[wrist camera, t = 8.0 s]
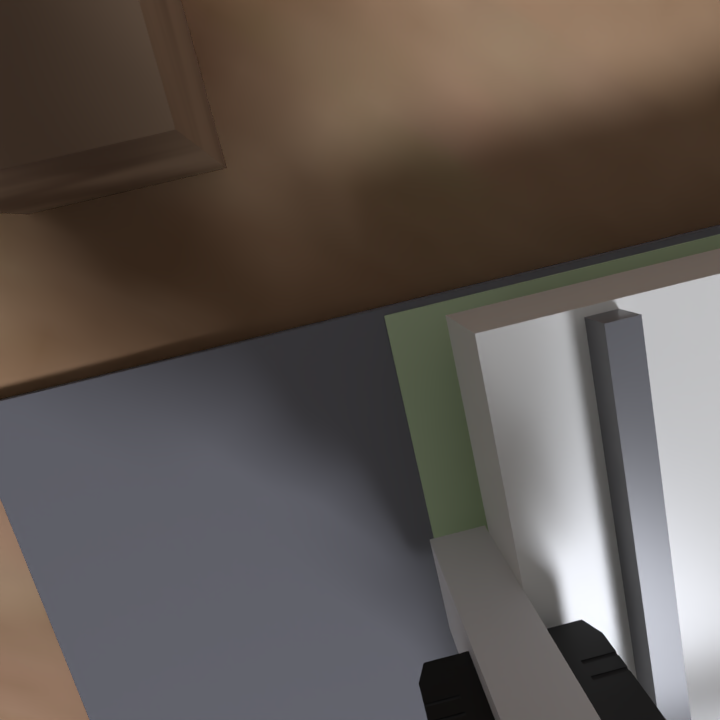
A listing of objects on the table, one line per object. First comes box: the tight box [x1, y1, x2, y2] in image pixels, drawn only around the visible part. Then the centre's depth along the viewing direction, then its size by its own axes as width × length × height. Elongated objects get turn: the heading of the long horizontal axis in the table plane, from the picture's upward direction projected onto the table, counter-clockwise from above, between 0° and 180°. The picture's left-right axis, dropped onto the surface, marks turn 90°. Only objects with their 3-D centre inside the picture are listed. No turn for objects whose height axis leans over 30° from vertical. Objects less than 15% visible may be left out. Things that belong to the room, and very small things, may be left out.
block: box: [0, 0, 226, 214], centre depth 11 cm, size 5×5×6 cm
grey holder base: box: [0, 225, 720, 720], centre depth 16 cm, size 28×14×4 cm, turn 103°
